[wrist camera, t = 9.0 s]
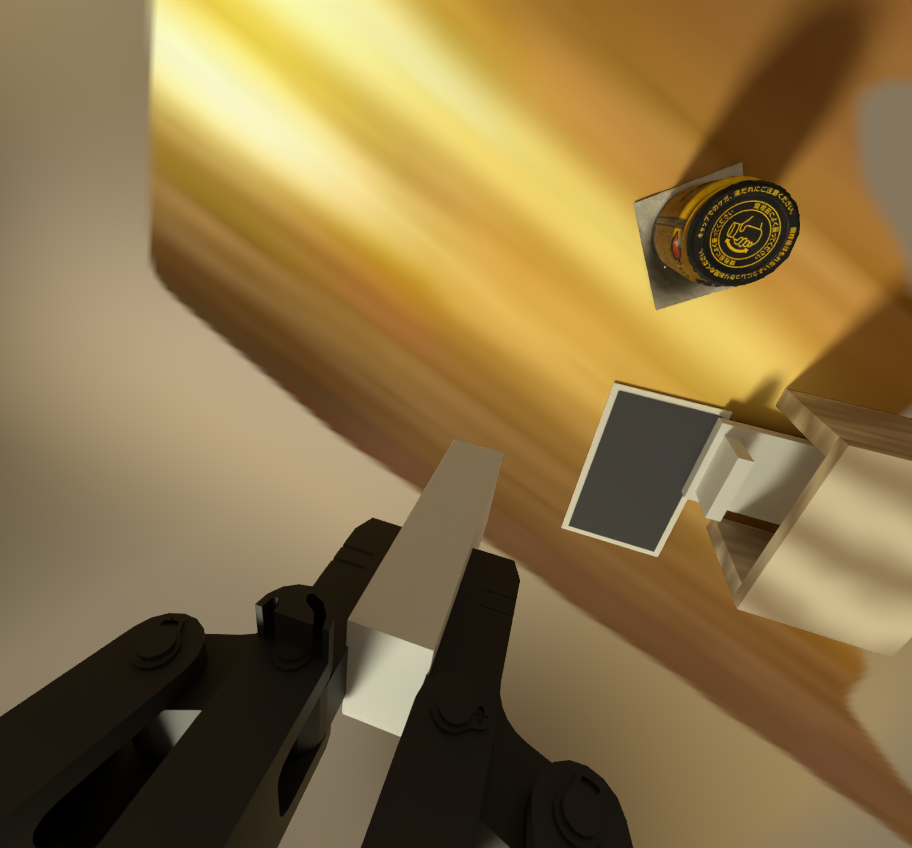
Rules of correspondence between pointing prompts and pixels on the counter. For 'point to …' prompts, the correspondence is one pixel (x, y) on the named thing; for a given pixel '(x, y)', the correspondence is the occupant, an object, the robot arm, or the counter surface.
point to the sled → (751, 472)
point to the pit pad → (639, 468)
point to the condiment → (715, 234)
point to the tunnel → (835, 533)
